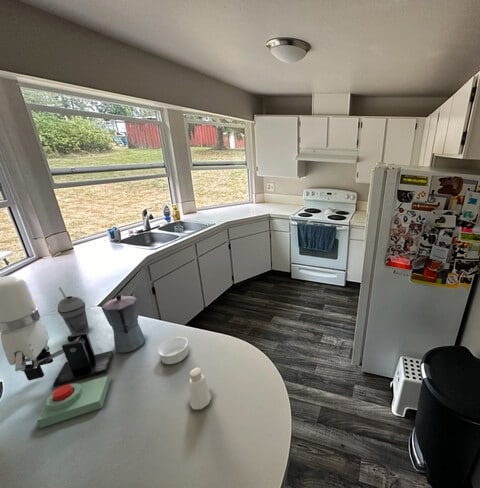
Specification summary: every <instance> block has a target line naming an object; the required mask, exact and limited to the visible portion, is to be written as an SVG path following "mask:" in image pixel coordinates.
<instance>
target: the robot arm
mask: <svg viewBox="0 0 480 488" xmlns="http://www.w3.org/2000/svg"><path fill="white" fill-rule="evenodd" d="M49 339H50V336H49V334H48V331H47V329H46V327H45V325H44V323H43V320H42V318H41V315H40V313H39V309H38V307H37V305H36V303H35V300H34V298H33V295H32V293H31V291H30V288H29V285H28V283H27V281H26V279H25V278H24V277H23V276H20V275H15V274H14V275H13V274H12V275H3V276H0V342H1V346H2V349H3V352H4V355H5V357H6V360H7V362H8V364H9V365H10V366H14V370H15V372H23V373H24V375H25V377H26V379H27V381H33V380H37V379H41V378H44V376H45V373H44V370H43V368H42V366H44V365H49V364H53V362H54V358H53V359H51V360H49V361H47V362H46V363H44V364H42V365H38V364H37V361H38V360H39V358H40V357H41V356H45V358H46V357H48V356H49V355H51V352H50V346H49V345H48V343H49ZM28 362H31V363H28ZM27 363H28V364H27Z"/></svg>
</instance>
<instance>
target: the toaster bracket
mask: <svg viewBox="0 0 480 488" xmlns="http://www.w3.org/2000/svg"><path fill="white" fill-rule="evenodd" d="M78 337H81V338H82V339H83V340H85V343H83V340H81V341H76V342H72V343H69V342H70V341H72V340H74V339H76V338H78ZM66 339H67V342H68V343H63V344H62V345H61V349H63V351H64V353H63V354H64V356H65V359H66V360H67V361H65V362H64V364H63V365H62V367H61V369H60V371H59V373H58V375H57V376H56V378H55V380H54V382H53V383H52V385H53V387H54V388H56V387H60V386H64V385H68V384H71V383H73V382H77V381H80V380H81V381H82V380H84V379H87V378H91V377H95V376H99V375H101V374H106V373H107V371H108V368H109V366H110V363H111V360H112V357H113V354H114V352H113V350H108V351H105V352H101V353H97V354H95V351H94V348H93V345H92V343H91V339H90V336H89V334H88V333H87V332H85V333H80V334H75V335H72V334H71V335H68V336H67V338H66Z"/></svg>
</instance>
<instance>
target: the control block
mask: <svg viewBox="0 0 480 488" xmlns="http://www.w3.org/2000/svg"><path fill="white" fill-rule="evenodd" d="M68 385H71V386H72V388H73V393H72V395H70V396H69V397H68V398H66V399H64V400H61V401H55V400H54V398H53V395H52V394H53V392H54V391H55V390H54V391H52V393H51V394H50V395H48V397H47V399H46V400H45V405H44V407H43V408H42V411H41V412H40V413H39V417H38V418H37V419H36V421H37V423H38V425H39V427H40V429H41V428H45V427H48V426H51V425H54V424H58V423H60V422H63V421H67V420H70V419H72V418H76V417H79V416H83V415H84V414H87V413H91V412H94V411H97V410H100V409H102V408H103V406H104V402H105V400H106V397H107V393H108V391H109V387H110V385H111V381H110V378H109V375H106V376H102V377H99V378H95V379H92V380H88V381H84V382H82V383H68Z"/></svg>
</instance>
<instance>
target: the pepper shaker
mask: <svg viewBox="0 0 480 488" xmlns="http://www.w3.org/2000/svg"><path fill="white" fill-rule="evenodd" d="M189 378H190V379H189V381H188V386H189V387H188V389H189V390H188V391H189V404H190V407H191V408H192V410H202V409H203V408H205V407H207V406H208V405H209V404H210V402H211V399H212V395H211V392H210V389H209V386H208V384H207V381H206V377H205V376H204V374H203V373H202V369H201V368H199V367H195V368H193V369H192V370H191V371H190V372H189Z"/></svg>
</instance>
